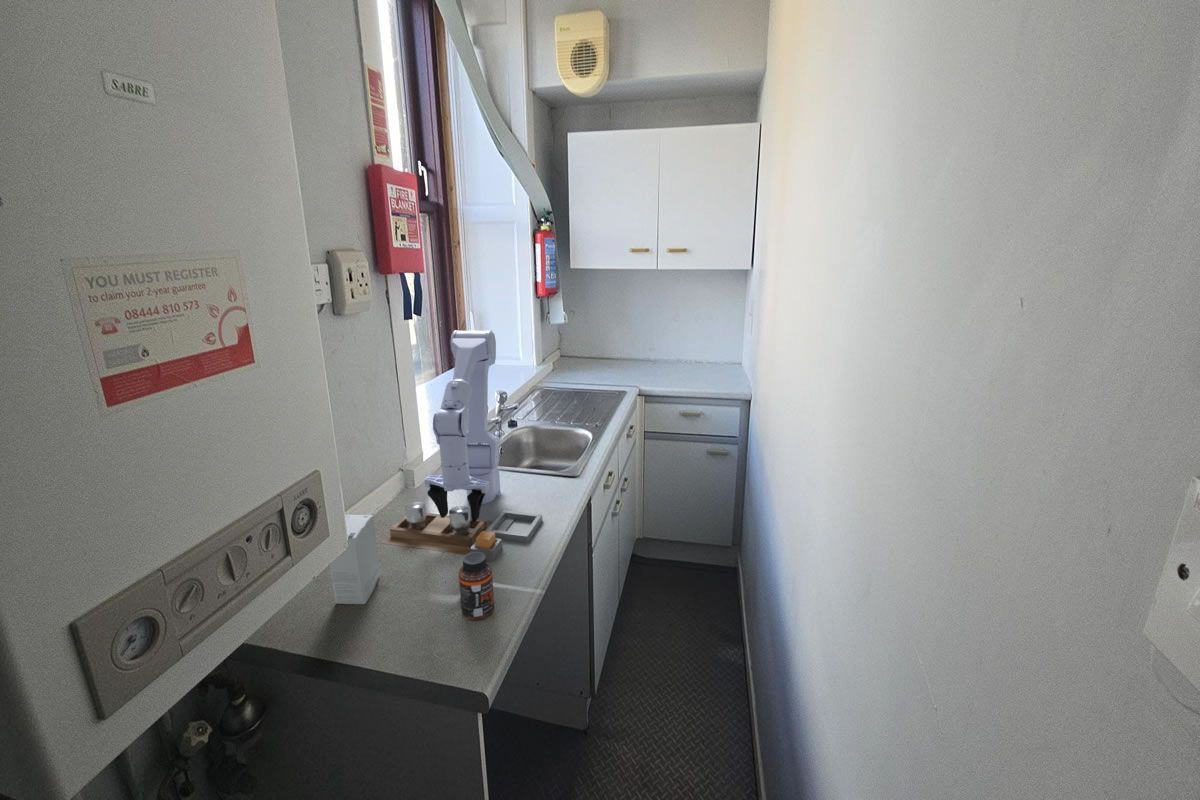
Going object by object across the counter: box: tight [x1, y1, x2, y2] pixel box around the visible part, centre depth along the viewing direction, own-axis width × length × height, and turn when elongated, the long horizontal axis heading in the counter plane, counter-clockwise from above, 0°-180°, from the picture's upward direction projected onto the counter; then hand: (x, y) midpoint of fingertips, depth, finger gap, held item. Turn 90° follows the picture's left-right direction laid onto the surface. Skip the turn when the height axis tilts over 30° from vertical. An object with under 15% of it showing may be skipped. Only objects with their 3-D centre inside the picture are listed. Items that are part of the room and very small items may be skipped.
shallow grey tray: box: [486, 509, 543, 544], centre depth 128 cm, size 10×10×2 cm
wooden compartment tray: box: [380, 512, 494, 556], centre depth 125 cm, size 14×21×3 cm, turn 77°
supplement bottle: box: [458, 552, 495, 621], centre depth 99 cm, size 6×6×11 cm
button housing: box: [470, 537, 503, 563], centre depth 118 cm, size 5×5×3 cm
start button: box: [476, 531, 496, 549], centre depth 117 cm, size 3×3×3 cm
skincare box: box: [328, 514, 381, 605], centre depth 104 cm, size 8×6×15 cm
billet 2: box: [448, 505, 471, 536], centre depth 123 cm, size 4×4×6 cm
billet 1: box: [404, 501, 427, 530], centre depth 126 cm, size 4×4×6 cm
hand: (459, 517), depth 123 cm, fingers open, 7 cm apart
